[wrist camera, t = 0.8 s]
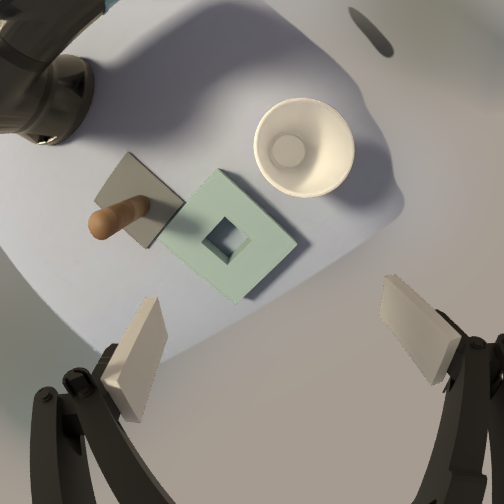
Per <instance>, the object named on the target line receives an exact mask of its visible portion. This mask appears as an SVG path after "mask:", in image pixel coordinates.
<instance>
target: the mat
mask: <svg viewBox="0 0 504 504" xmlns="http://www.w3.org/2000/svg"><path fill="white" fill-rule="evenodd" d="M137 195H143V196H145V197H147V198H148V200H149V202H150V210H149V212H148V213H147V214H146V215H144V216H143V217H141V218H139V219H138V220H136V221H134V222H133V223H131V224H129V225H128V226H126V227H124V228H123V229H124V230H125V231H126V232H127V233H128V234H129V235H130V236H131V237H133V238H134V239H135V240H136V241H137V242H138V243H139V244H140V245H141V246H143V247H144V248H145V249H146V248H147V247H148V246H149V244H150V243H151V242H152V241H153V239H154V238H155V237H156V236H157V234H158V233H159V232H160V231H161V229H162V228H163V227H164V226H165V224H166V223H167V222H168V221H169V220H170V218H171V217H172V216H173V215H174V214H175V212H176V211H177V210H178V209H179V208H180V206H181V205H182V204H183V203H184V201H183V200H182V199H181V198H179V197H178V196H177V195H176V194H175V193H174V192H173V191H172V190H170V189H169V188H168V187H167V186H166V185H165V184H164V183H163V182H161V181H160V180H159V179H158V178H157V177H156V176H155V175H154V174H153V173H151V172H150V171H149V170H148V169H147V168H146V167H145V166H144V165H143V164H141V163H140V162H139V161H138V160H137V159H136V158H135V157H134V156H132V155H131V154H130V153H129V152H127V153H126V155H125V156H124V157H123V159H122V160H121V161H120V163H119V164H118V165H117V167H116V168H115V170H114V171H113V173H112V174H111V175H110V177H109V178H108V180H107V181H106V183H105V184H104V186H103V187H102V189H101V190H100V192H99V193H98V195H97V197H96V198H95V200H94V202H95V203H96V204H97V205H98V206H99V207H100V208H101V209H103V208H106V207H108V206H111V205H113V204H116V203H119V202H121V201H124V200H127V199H129V198H132V197H135V196H137Z"/></svg>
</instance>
